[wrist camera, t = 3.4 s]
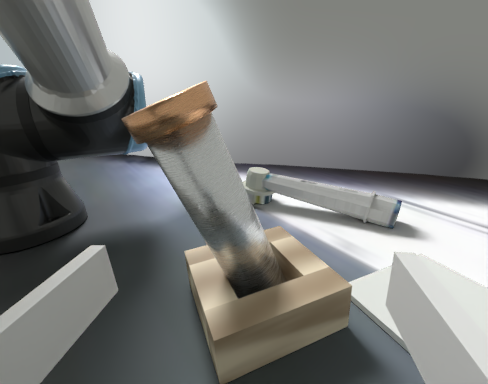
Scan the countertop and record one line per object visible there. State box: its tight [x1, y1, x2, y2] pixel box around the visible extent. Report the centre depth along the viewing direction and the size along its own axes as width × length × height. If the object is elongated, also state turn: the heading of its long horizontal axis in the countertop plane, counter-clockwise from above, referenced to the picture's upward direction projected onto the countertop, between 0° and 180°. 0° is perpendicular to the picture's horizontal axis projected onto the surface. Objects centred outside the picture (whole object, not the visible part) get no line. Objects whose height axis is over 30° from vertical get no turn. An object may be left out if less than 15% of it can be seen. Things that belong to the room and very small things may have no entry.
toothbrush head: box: [242, 167, 402, 228], centre depth 40 cm, size 5×7×25 cm
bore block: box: [184, 226, 352, 384], centre depth 22 cm, size 11×11×4 cm
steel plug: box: [121, 81, 286, 298], centre depth 19 cm, size 5×5×18 cm
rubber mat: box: [348, 254, 488, 353], centre depth 20 cm, size 11×11×1 cm
